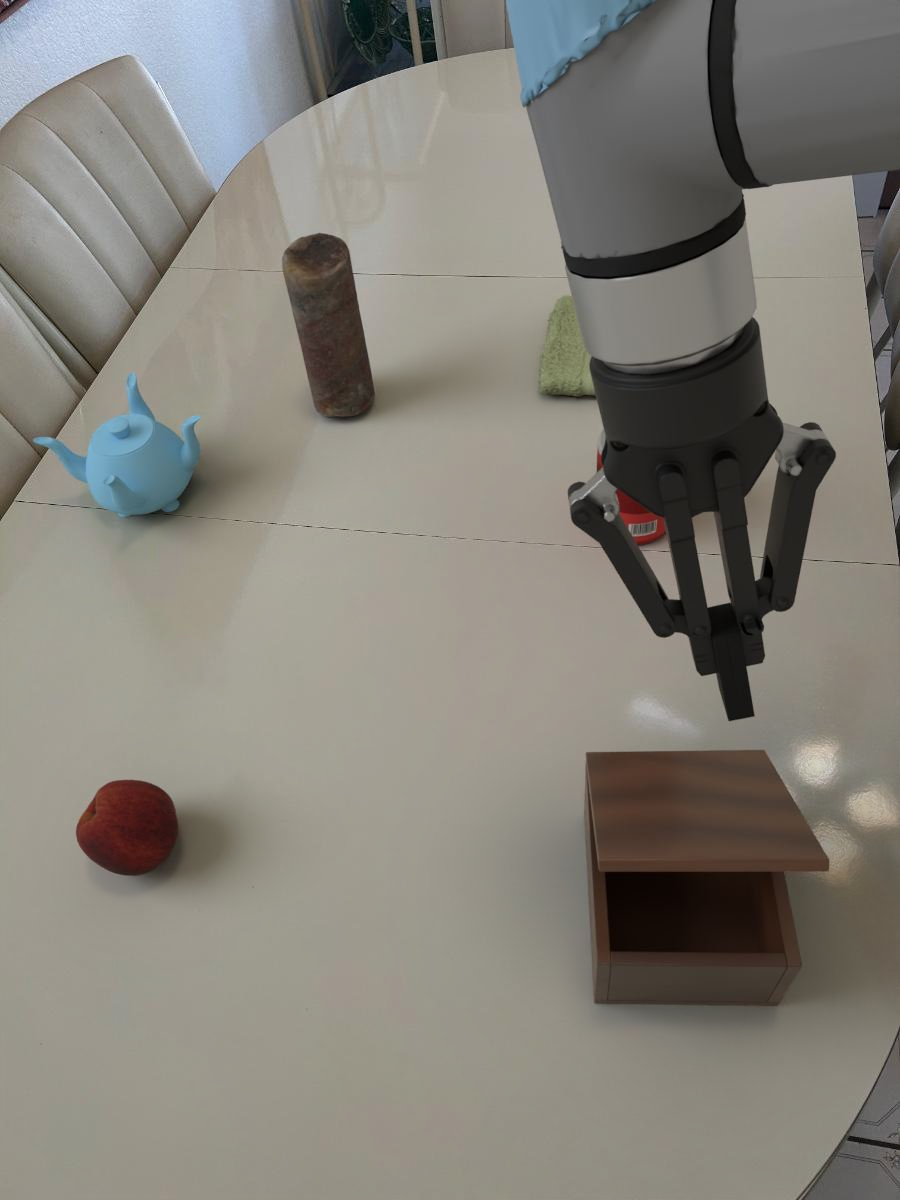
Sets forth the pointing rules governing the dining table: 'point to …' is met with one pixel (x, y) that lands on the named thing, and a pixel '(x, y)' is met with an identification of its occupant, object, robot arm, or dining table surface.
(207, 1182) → the dining table surface
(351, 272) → the candle
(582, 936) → the dining table surface
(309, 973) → the dining table surface
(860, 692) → the dining table surface
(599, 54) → the robot arm
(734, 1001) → the chest
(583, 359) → the washcloth
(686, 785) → the lid
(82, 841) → the apple
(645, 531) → the canned food
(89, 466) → the teapot
